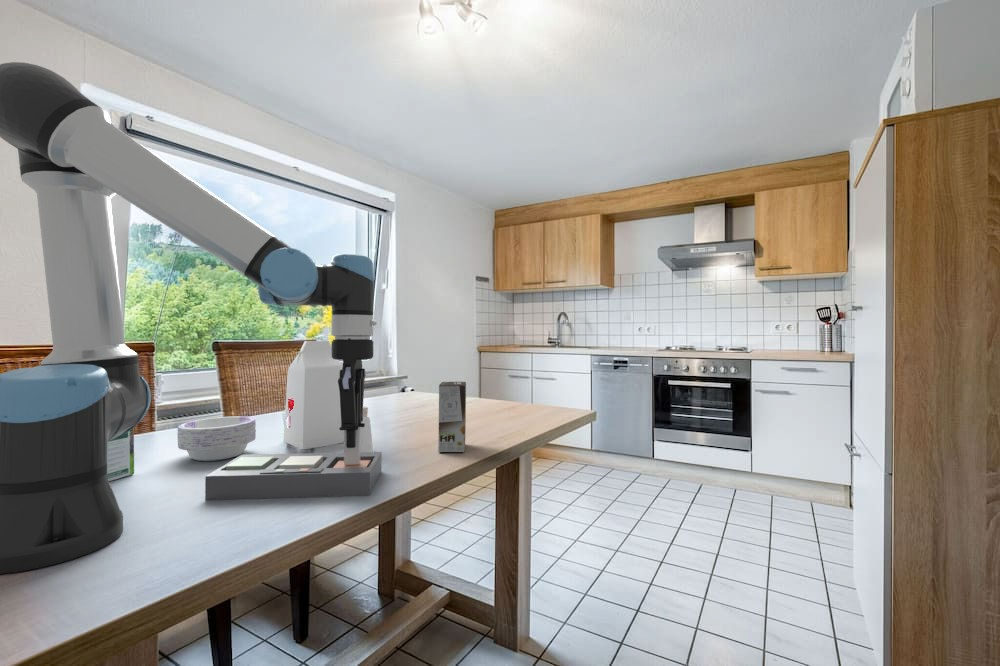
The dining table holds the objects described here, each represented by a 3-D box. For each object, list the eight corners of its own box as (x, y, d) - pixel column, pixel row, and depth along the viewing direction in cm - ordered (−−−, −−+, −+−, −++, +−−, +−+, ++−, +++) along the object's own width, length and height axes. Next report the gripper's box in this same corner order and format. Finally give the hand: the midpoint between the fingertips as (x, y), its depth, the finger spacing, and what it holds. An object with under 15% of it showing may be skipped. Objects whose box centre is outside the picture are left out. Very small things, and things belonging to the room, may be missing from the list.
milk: (302, 449, 113) (303, 341, 113) (283, 441, 121) (284, 340, 121) (348, 441, 122) (349, 341, 122) (328, 434, 130) (328, 340, 130)
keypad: (369, 495, 82) (369, 470, 82) (205, 500, 79) (205, 474, 79) (381, 471, 96) (381, 450, 96) (241, 474, 93) (242, 453, 93)
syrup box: (105, 483, 87) (105, 405, 87) (79, 481, 88) (80, 404, 88) (134, 474, 92) (135, 401, 92) (110, 472, 94) (110, 399, 93)
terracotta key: (365, 481, 85) (365, 469, 85) (331, 481, 85) (331, 469, 85) (370, 471, 91) (370, 460, 91) (338, 472, 91) (338, 460, 91)
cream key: (313, 476, 85) (314, 464, 85) (279, 477, 84) (279, 465, 84) (322, 467, 90) (322, 455, 90) (290, 467, 90) (290, 456, 90)
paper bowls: (171, 455, 107) (172, 420, 107) (245, 444, 117) (245, 413, 117) (183, 470, 96) (184, 431, 96) (264, 457, 106) (264, 422, 106)
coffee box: (465, 453, 111) (465, 385, 111) (437, 453, 110) (438, 385, 110) (465, 444, 120) (466, 381, 120) (440, 444, 119) (440, 381, 119)
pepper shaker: (344, 456, 107) (344, 408, 107) (358, 450, 112) (358, 404, 112) (365, 458, 105) (365, 409, 105) (378, 452, 111) (378, 405, 111)
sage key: (261, 477, 84) (261, 465, 84) (226, 478, 83) (226, 466, 83) (274, 468, 90) (274, 456, 90) (241, 468, 89) (241, 457, 89)
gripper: (367, 338, 82) (366, 473, 82) (378, 337, 95) (377, 454, 95) (322, 338, 81) (322, 474, 81) (340, 337, 94) (339, 454, 94)
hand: (352, 463), depth 88 cm, fingers closed
